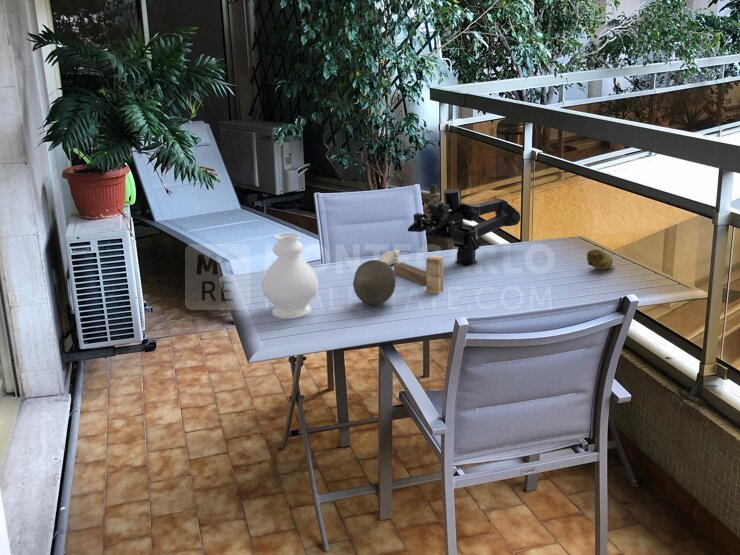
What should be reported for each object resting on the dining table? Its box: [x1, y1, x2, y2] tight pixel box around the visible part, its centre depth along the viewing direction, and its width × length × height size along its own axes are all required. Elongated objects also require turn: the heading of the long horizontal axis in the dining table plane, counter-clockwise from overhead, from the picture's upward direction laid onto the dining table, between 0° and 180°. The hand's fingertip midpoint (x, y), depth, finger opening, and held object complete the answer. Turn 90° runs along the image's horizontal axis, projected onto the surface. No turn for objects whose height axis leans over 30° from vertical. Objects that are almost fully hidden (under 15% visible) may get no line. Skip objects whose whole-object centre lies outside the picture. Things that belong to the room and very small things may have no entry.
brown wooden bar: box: [393, 262, 426, 286], centre depth 265 cm, size 4×18×4 cm, turn 34°
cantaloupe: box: [352, 259, 397, 307], centre depth 237 cm, size 14×14×15 cm
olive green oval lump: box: [586, 248, 614, 270], centre depth 269 cm, size 8×13×8 cm, turn 117°
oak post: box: [425, 254, 444, 295], centre depth 250 cm, size 4×4×12 cm
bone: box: [377, 249, 401, 266], centre depth 278 cm, size 8×21×6 cm, turn 154°
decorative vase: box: [261, 232, 319, 320], centre depth 232 cm, size 18×18×25 cm
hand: (416, 232), depth 261 cm, fingers open, 9 cm apart
